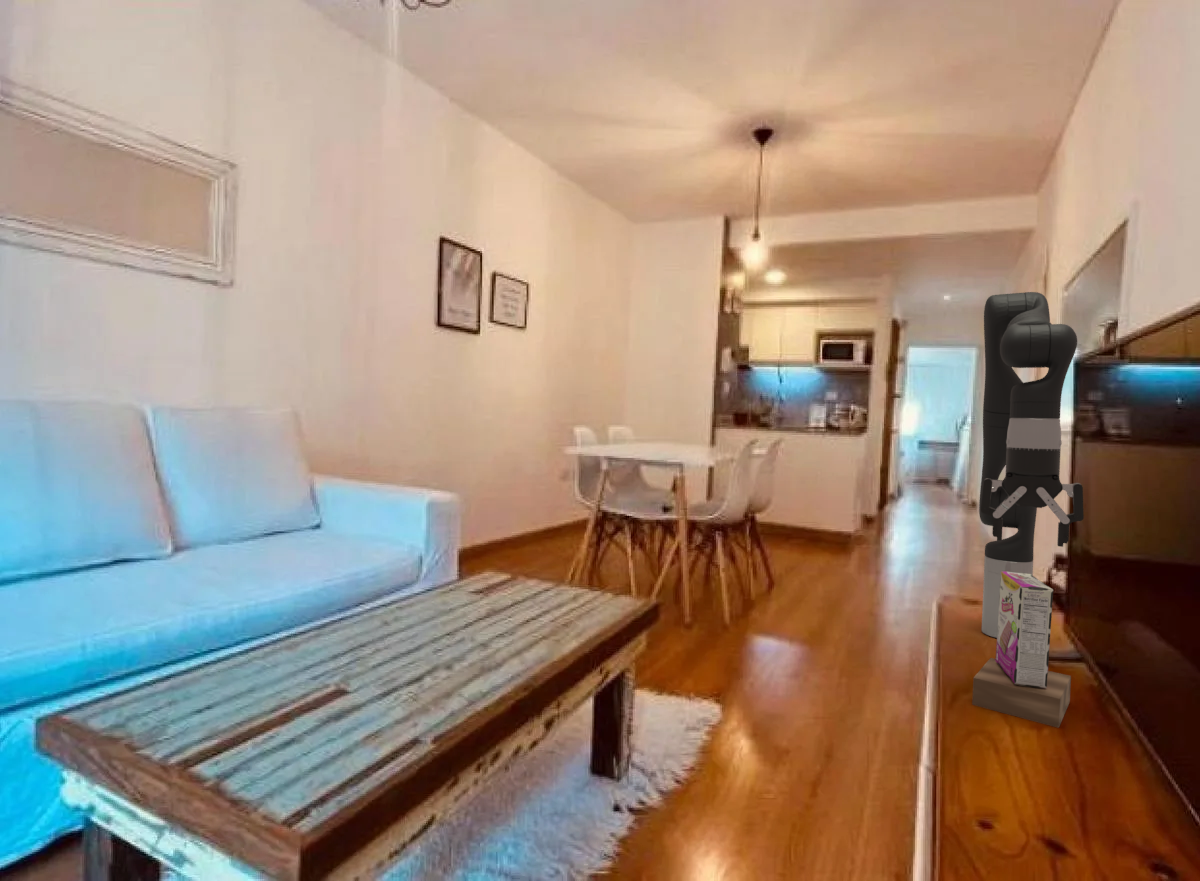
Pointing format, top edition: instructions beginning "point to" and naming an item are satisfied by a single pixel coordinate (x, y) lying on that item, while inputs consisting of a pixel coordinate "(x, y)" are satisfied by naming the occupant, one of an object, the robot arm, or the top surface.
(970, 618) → the top surface
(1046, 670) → the candy bar box
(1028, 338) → the robot arm
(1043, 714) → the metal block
